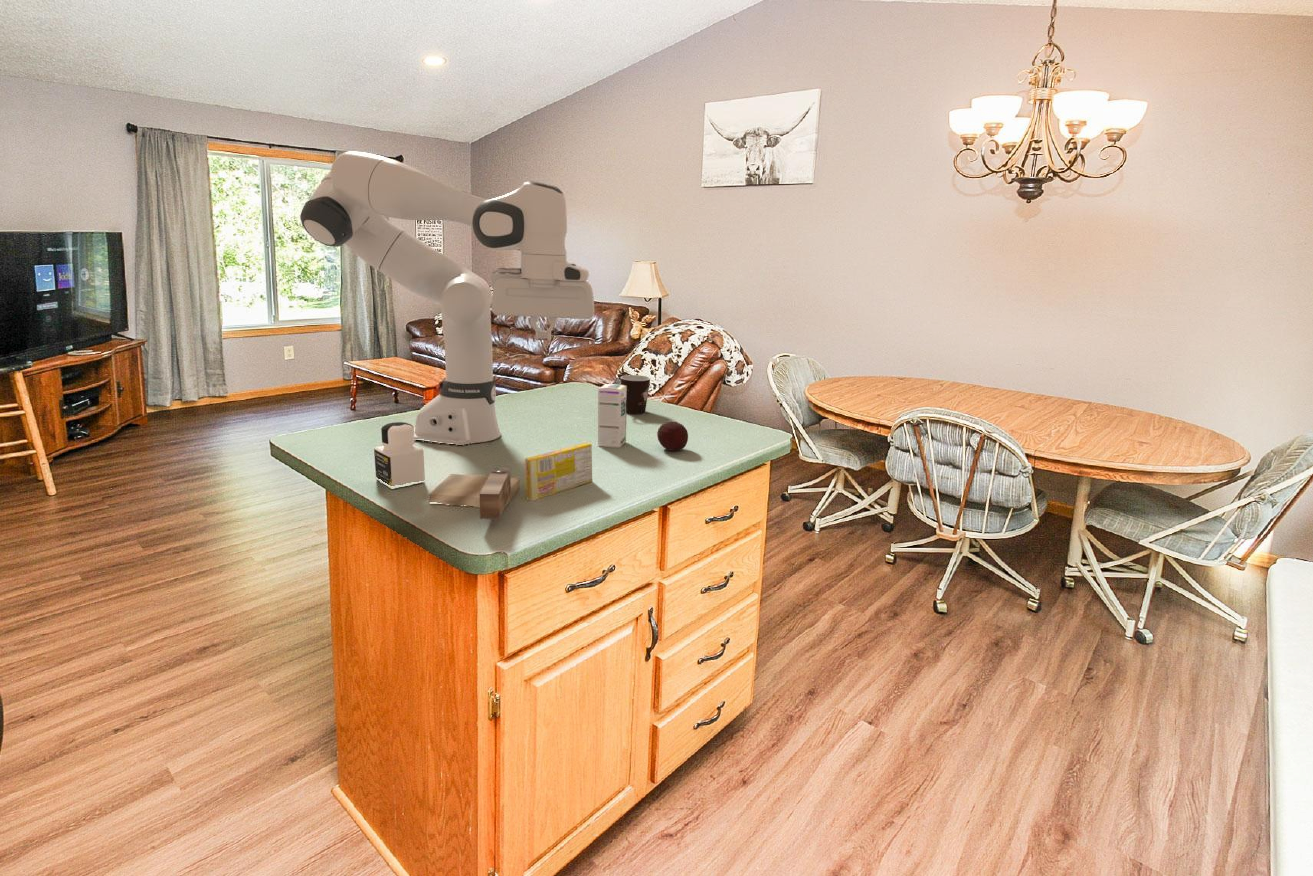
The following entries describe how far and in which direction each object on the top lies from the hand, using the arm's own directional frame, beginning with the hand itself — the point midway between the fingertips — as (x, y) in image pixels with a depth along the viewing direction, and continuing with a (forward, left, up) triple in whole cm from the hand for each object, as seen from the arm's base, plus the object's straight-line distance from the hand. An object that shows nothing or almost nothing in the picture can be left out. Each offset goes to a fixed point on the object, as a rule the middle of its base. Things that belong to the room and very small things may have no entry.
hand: (543, 339), depth 147 cm
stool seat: (-10, -15, -29) cm, 34 cm away
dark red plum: (+26, +24, -29) cm, 46 cm away
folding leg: (-3, -24, -26) cm, 36 cm away
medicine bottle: (-27, -10, -29) cm, 41 cm away
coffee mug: (+12, +60, -29) cm, 68 cm away
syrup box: (+11, +26, -29) cm, 40 cm away
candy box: (+5, -9, -29) cm, 31 cm away
